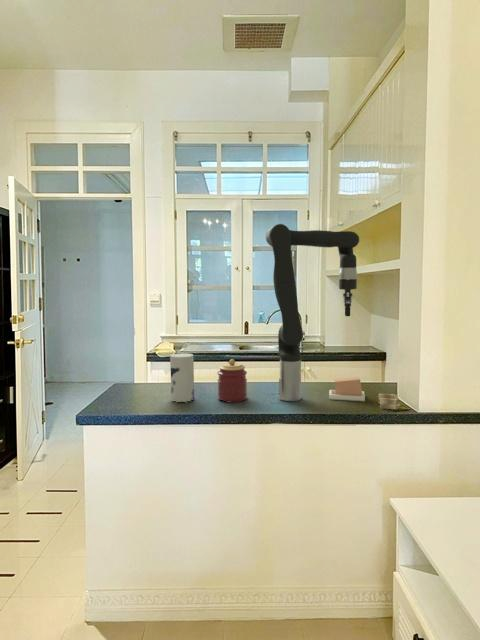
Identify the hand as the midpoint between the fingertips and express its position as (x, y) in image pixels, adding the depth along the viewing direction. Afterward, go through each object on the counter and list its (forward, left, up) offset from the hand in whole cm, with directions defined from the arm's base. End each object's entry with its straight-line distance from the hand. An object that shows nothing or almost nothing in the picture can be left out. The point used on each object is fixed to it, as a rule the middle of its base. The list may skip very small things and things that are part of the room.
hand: (347, 315), depth 189 cm
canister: (-49, -15, -36) cm, 63 cm away
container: (-70, -21, -36) cm, 82 cm away
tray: (0, -4, -36) cm, 36 cm away
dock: (+16, -13, -36) cm, 42 cm away
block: (+1, -4, -35) cm, 35 cm away
